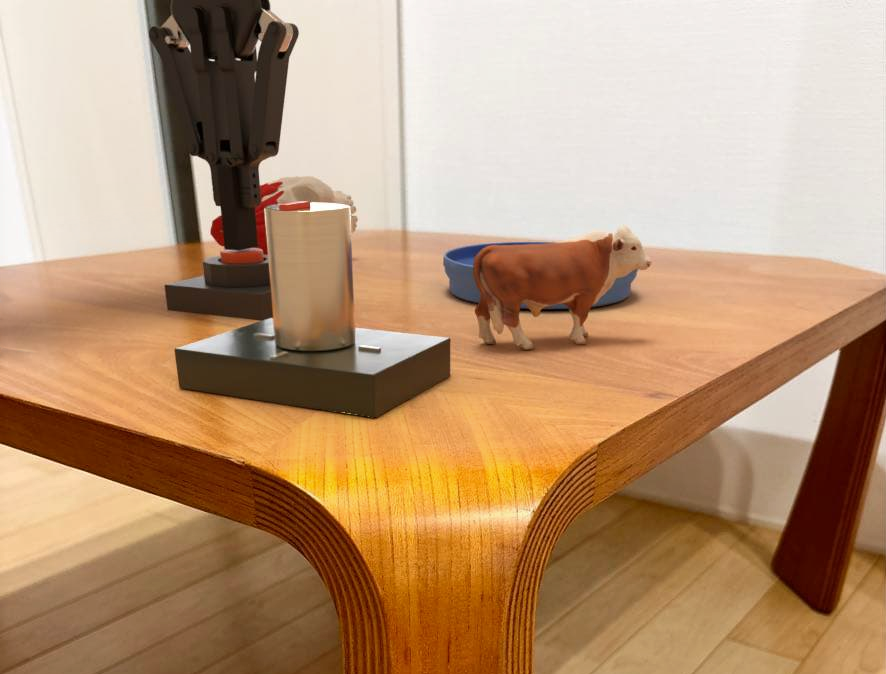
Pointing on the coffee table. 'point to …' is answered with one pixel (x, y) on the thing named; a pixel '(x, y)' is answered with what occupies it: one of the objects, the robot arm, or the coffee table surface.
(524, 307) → the bowl
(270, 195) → the red cream irregular piece
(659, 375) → the coffee table surface
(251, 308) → the button box
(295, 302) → the knob
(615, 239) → the bull figurine
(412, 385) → the dial panel
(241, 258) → the button
